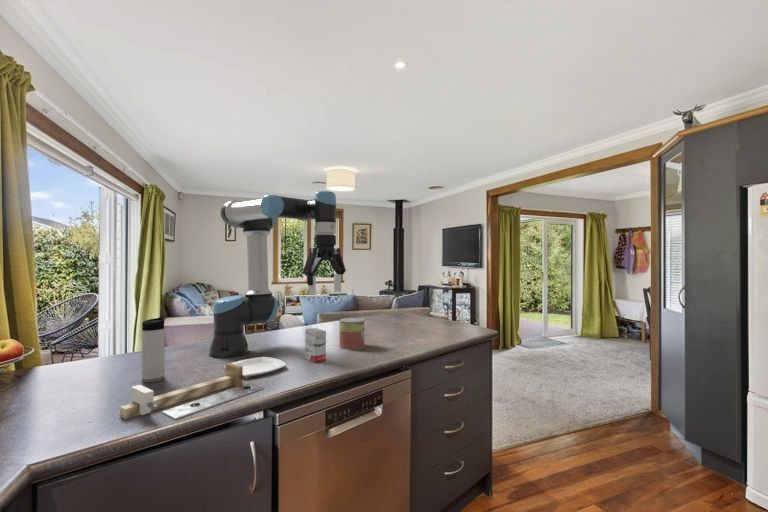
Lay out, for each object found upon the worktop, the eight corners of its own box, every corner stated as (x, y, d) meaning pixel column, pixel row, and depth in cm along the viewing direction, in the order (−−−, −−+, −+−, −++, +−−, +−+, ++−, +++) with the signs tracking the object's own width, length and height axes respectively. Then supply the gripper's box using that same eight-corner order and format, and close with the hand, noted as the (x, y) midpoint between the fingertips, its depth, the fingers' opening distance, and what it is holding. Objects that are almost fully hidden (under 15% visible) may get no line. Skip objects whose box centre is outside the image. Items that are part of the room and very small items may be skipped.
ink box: (326, 360, 142) (326, 330, 142) (315, 363, 138) (315, 332, 138) (315, 356, 148) (315, 327, 148) (304, 358, 145) (304, 328, 145)
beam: (136, 426, 87) (136, 401, 87) (118, 415, 93) (118, 391, 93) (252, 386, 113) (252, 367, 113) (233, 380, 119) (233, 362, 119)
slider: (151, 420, 89) (151, 396, 89) (130, 409, 96) (130, 386, 96) (160, 417, 91) (160, 394, 91) (139, 406, 98) (139, 384, 98)
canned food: (363, 349, 158) (363, 322, 158) (337, 349, 159) (337, 322, 159) (365, 343, 170) (365, 317, 170) (341, 343, 170) (341, 317, 170)
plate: (293, 370, 131) (293, 364, 131) (241, 383, 117) (241, 377, 117) (266, 359, 145) (266, 354, 145) (216, 371, 130) (216, 365, 130)
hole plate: (162, 412, 94) (162, 411, 94) (249, 384, 116) (249, 382, 116) (175, 419, 90) (175, 417, 90) (263, 388, 112) (263, 387, 112)
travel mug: (169, 377, 122) (169, 317, 122) (151, 383, 116) (151, 320, 116) (156, 375, 124) (156, 316, 125) (137, 381, 118) (137, 319, 118)
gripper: (308, 232, 120) (307, 296, 120) (354, 235, 141) (354, 290, 141) (292, 233, 124) (292, 295, 124) (340, 236, 145) (339, 289, 145)
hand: (325, 293), depth 133 cm, fingers open, 13 cm apart
